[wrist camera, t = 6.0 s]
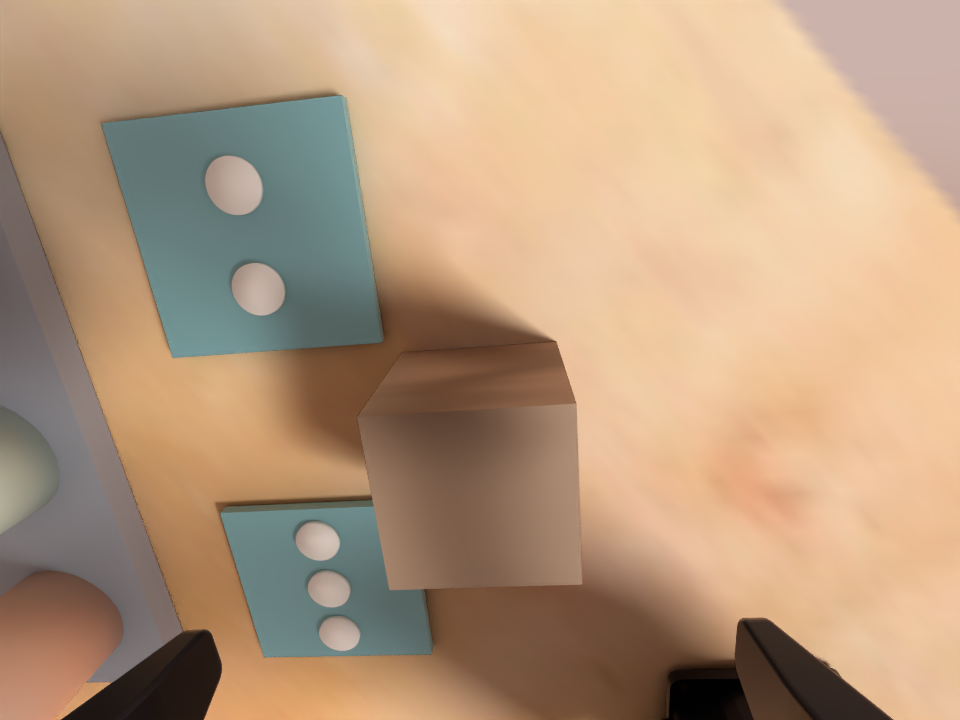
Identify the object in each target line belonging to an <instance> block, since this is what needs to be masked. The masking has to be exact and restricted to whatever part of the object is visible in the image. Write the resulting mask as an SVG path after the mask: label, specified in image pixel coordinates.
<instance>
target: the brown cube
mask: <svg viewBox="0 0 960 720" xmlns="http://www.w3.org/2000/svg"><path fill="white" fill-rule="evenodd" d="M357 420H358V425H359V430H360V436H361V441H362V446H363V452H364V457H365V462H366V468H367V473H368V478H369V484H370V489H371V494H372V500H373V505H374V510H375V516H376V521H377V526H378V532H379V537H380V542H381V547H382V553H383V558H384V563H385V569H386V574H387V579H388V585H389V590H412V589H446V588H481V587H515V586H550V585H582V561H581V530H580V499H579V468H578V438H577V407H576V401H575V398H574V395H573V392H572V389H571V385H570V382H569V379H568V376H567V373H566V370H565V367H564V364H563V361H562V358H561V355H560V352H559V348H558V345H557V342H542V343H528V344H514V345H500V346H486V347H472V348H458V349H444V350H430V351H416V352H402V353H401V355H400V356H399V358H398V359H397V360H396V362H395V363H394V365H393V366H392V368H391V369H390V370H389V372H388V373H387V375H386V376H385V378H384V379H383V380H382V382H381V383H380V385H379V386H378V388H377V389H376V390H375V392H374V393H373V395H372V396H371V398H370V399H369V400H368V402H367V403H366V405H365V406H364V408H363V409H362V410H361V412H360V413H359V415H358V416H357Z"/></svg>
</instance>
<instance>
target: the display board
mask: <svg viewBox="0 0 960 720" xmlns="http://www.w3.org/2000/svg"><path fill="white" fill-rule="evenodd" d="M182 632H183V630H182V628H181V625H180V622H179V620H178V617H177V614H176V611H175V609H174V606H173V603H172V600H171V598H170V595H169V592H168V589H167V587H166V584H165V581H164V579H163V576H162V573H161V570H160V568H159V565H158V562H157V559H156V557H155V554H154V551H153V549H152V546H151V543H150V540H149V538H148V535H147V532H146V529H145V527H144V524H143V521H142V518H141V516H140V513H139V510H138V508H137V505H136V502H135V499H134V497H133V494H132V491H131V488H130V486H129V483H128V480H127V477H126V475H125V472H124V469H123V467H122V464H121V461H120V458H119V456H118V453H117V450H116V447H115V445H114V442H113V439H112V436H111V434H110V431H109V428H108V426H107V423H106V420H105V417H104V415H103V412H102V409H101V406H100V404H99V401H98V398H97V396H96V393H95V390H94V387H93V385H92V382H91V379H90V376H89V374H88V371H87V368H86V365H85V363H84V360H83V357H82V355H81V352H80V349H79V346H78V344H77V341H76V338H75V335H74V333H73V330H72V327H71V324H70V322H69V319H68V316H67V314H66V311H65V308H64V305H63V303H62V300H61V297H60V294H59V292H58V289H57V286H56V283H55V281H54V278H53V275H52V273H51V270H50V267H49V264H48V262H47V259H46V256H45V253H44V251H43V248H42V245H41V243H40V240H39V237H38V234H37V232H36V229H35V226H34V223H33V221H32V218H31V215H30V212H29V210H28V207H27V204H26V202H25V199H24V196H23V193H22V191H21V188H20V185H19V182H18V180H17V177H16V174H15V171H14V169H13V166H12V163H11V161H10V158H9V155H8V152H7V150H6V147H5V144H4V141H3V139H2V136H1V133H0V720H54V719H55V717H56V716H57V715H58V714H59V713H60V712H61V711H62V709H63V708H64V707H65V706H66V705H67V704H68V703H69V701H70V700H71V699H72V698H73V697H74V696H75V695H76V693H77V692H78V691H79V690H80V689H81V688H82V687H83V685H84V684H85V683H86V682H114V681H115V680H116V679H118V678H119V677H121V676H122V675H123V674H125V673H126V672H127V671H129V670H130V669H132V668H133V667H134V666H136V665H137V664H138V663H140V662H141V661H143V660H144V659H145V658H147V657H148V656H150V655H151V654H152V653H154V652H155V651H156V650H158V649H159V648H161V647H162V646H163V645H165V644H166V643H167V642H169V641H170V640H172V639H173V638H174V637H176V636H177V635H178V634H180V633H182Z"/></svg>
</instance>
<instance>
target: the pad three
mask: <svg viewBox="0 0 960 720" xmlns="http://www.w3.org/2000/svg"><path fill="white" fill-rule="evenodd" d="M220 515H221V518H222V521H223V525H224V528H225V531H226V535H227V538H228V541H229V544H230V548H231V551H232V554H233V558H234V561H235V564H236V567H237V571H238V574H239V577H240V580H241V584H242V587H243V590H244V594H245V597H246V600H247V603H248V607H249V610H250V613H251V617H252V620H253V623H254V626H255V630H256V633H257V636H258V640H259V643H260V646H261V649H262V653H263V656H264V657H313V656H371V655H428V654H432V650H433V641H432V635H431V629H430V623H429V616H428V610H427V604H426V597H425V591H424V589H412V590H389V585H388V579H387V574H386V569H385V563H384V558H383V553H382V547H381V542H380V537H379V532H378V526H377V521H376V516H375V510H374V505H373V500H360V501H338V502H316V503H294V504H271V505H249V506H227V507H225V508H224V509H223V510H222V511H221V513H220Z"/></svg>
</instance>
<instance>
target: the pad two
mask: <svg viewBox="0 0 960 720" xmlns="http://www.w3.org/2000/svg"><path fill="white" fill-rule="evenodd" d="M101 125H102V128H103V131H104V134H105V138H106V141H107V144H108V148H109V151H110V154H111V157H112V161H113V164H114V167H115V171H116V174H117V177H118V180H119V184H120V187H121V190H122V194H123V197H124V200H125V203H126V207H127V210H128V213H129V216H130V220H131V223H132V226H133V230H134V233H135V236H136V239H137V243H138V246H139V249H140V253H141V256H142V259H143V262H144V266H145V269H146V272H147V275H148V279H149V282H150V285H151V289H152V292H153V295H154V298H155V302H156V305H157V308H158V312H159V315H160V318H161V321H162V325H163V328H164V331H165V335H166V338H167V341H168V344H169V348H170V351H171V354H172V357H173V358H179V357H193V356H207V355H220V354H234V353H248V352H262V351H275V350H289V349H303V348H316V347H330V346H344V345H358V344H371V343H382V341H383V340H384V333H383V327H382V321H381V314H380V308H379V302H378V295H377V289H376V283H375V277H374V270H373V264H372V258H371V251H370V245H369V239H368V233H367V226H366V220H365V214H364V207H363V201H362V195H361V189H360V182H359V176H358V170H357V163H356V157H355V151H354V145H353V138H352V132H351V126H350V119H349V113H348V107H347V101H346V98H345V97H344V96H342V95H338V96H329V97H321V98H312V99H304V100H295V101H287V102H278V103H270V104H261V105H253V106H244V107H236V108H227V109H219V110H210V111H202V112H193V113H185V114H176V115H168V116H159V117H151V118H142V119H134V120H125V121H117V122H108V123H101Z"/></svg>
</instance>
